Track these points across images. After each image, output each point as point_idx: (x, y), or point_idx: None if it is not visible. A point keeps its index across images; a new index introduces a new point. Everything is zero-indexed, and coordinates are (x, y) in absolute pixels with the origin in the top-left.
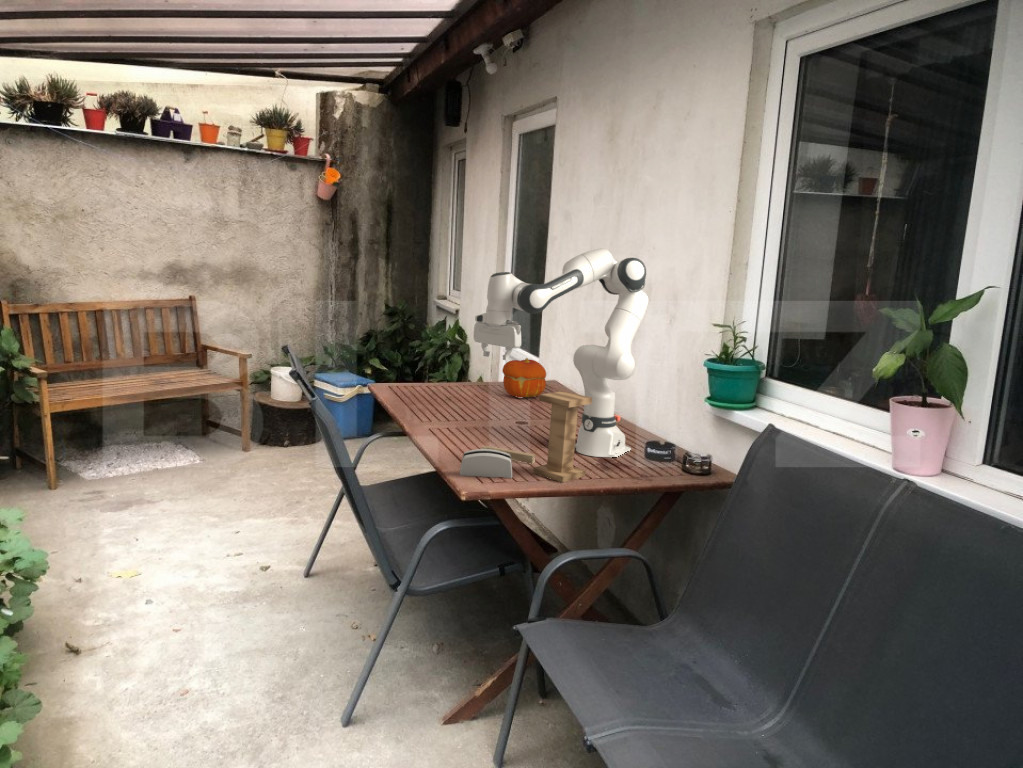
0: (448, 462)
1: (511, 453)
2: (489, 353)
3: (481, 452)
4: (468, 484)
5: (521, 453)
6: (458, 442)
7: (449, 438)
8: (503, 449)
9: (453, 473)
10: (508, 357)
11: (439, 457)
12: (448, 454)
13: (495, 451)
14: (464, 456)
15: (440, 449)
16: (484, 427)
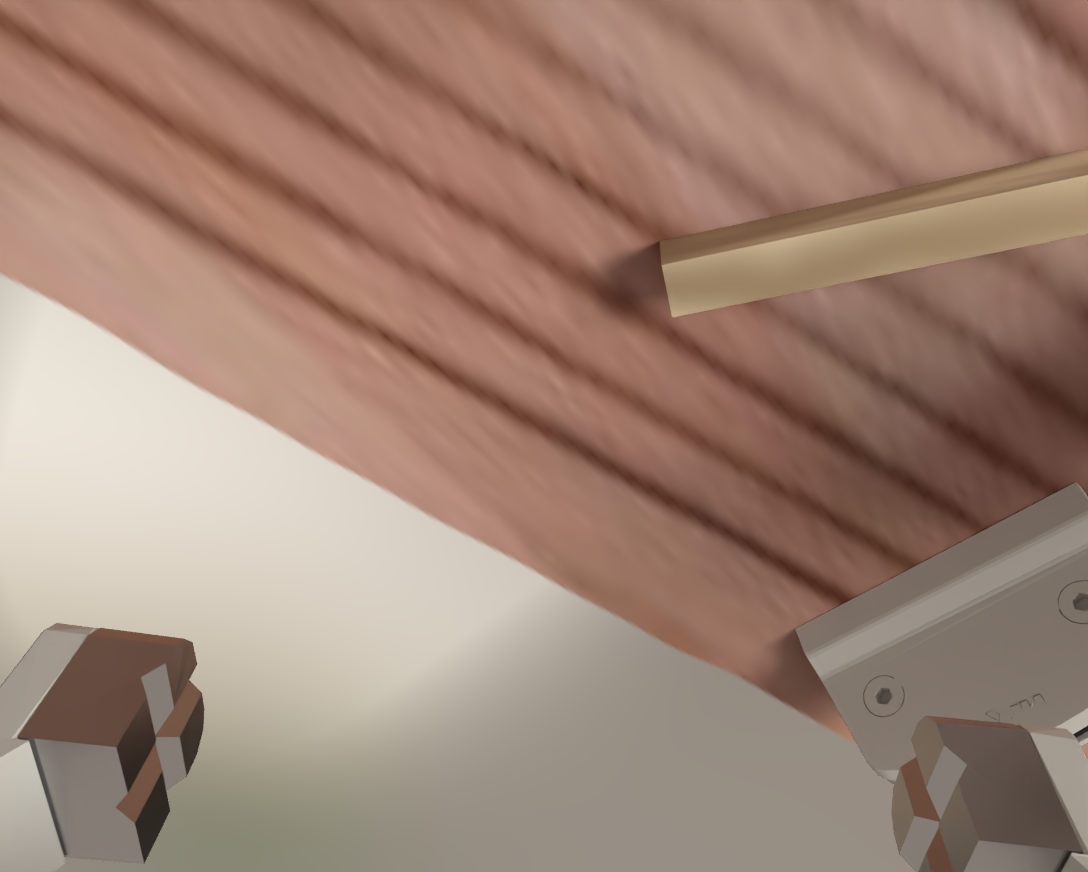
0: (632, 566)
1: (945, 258)
2: (143, 692)
3: None
4: None
5: (1035, 224)
6: (286, 140)
7: (140, 97)
8: (846, 241)
9: (792, 681)
10: (1086, 804)
11: (519, 530)
12: (503, 446)
13: (1086, 725)
14: None
15: (376, 397)
16: None
